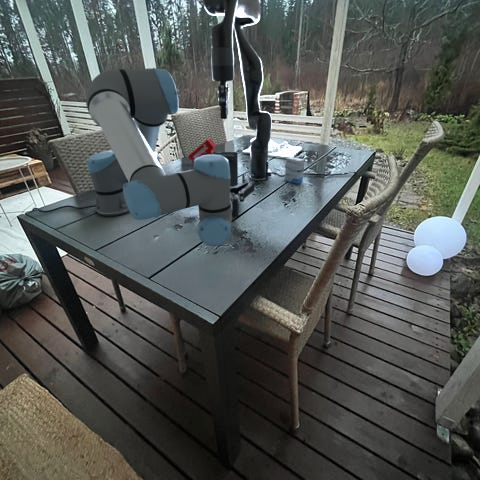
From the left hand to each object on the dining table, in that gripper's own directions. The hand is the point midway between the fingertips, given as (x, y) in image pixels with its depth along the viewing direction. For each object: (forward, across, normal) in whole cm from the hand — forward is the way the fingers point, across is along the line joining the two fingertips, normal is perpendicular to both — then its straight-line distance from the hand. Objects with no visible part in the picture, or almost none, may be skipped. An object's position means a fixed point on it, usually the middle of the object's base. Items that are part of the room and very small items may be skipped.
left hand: (223, 178), depth 91 cm
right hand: (+20, 0, +16) cm, 26 cm away
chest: (+18, 0, -20) cm, 27 cm away
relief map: (+110, +29, -20) cm, 115 cm away
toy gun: (+81, -16, -20) cm, 85 cm away
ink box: (+50, +34, -20) cm, 63 cm away
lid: (+14, 0, -3) cm, 14 cm away
